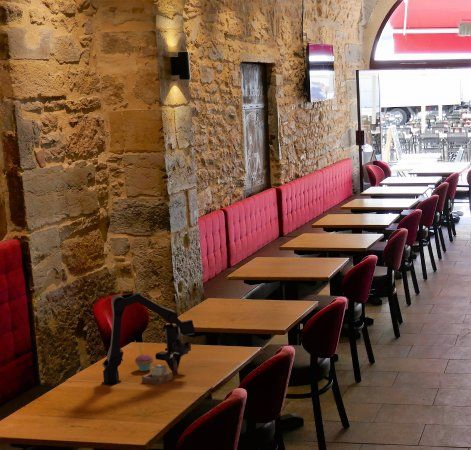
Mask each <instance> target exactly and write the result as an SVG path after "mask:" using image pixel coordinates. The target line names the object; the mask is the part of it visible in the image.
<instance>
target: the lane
mask: <svg viewBox="0 0 471 450" xmlns="http://www.w3.org/2000/svg"><path fill="white" fill-rule="evenodd" d="M173 376H174V374H172V372H170V373H168V374H167V375H165V376H162V377H160V378H158V379H156V378H152V372H151V373H148V374H146V375H143V376H141V382H142V383H144V384H149V385H153V386H159V385H162V384H163V383H167V382H169V381H171V380H173V379H174V378H173Z"/></svg>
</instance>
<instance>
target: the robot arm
mask: <svg viewBox="0 0 471 450" xmlns="http://www.w3.org/2000/svg"><path fill="white" fill-rule="evenodd" d="M137 303H138V304H139V305H141V306H143V307H145V308H147V309H148V310H150V311H152V312H154V313H155V314H157V315H158V316H160V318H161V319H163V320H164V321H165V322H166V323H167V324H166V323H165V322H163V324H162V325H161V326H160V328H161V329H162V330H165V339H164V340H163V341H164V343H166V347H165V348H164V351H162V350H161V351H158V352H156V353H155V354H154V355H155V360H158V361H165V363H166V364H167V367H169V370H170V371H171V372H172V371H173V369H174V364H173V360H177V368H178V369H179V367H180V362H181V359H182V357H183V356H185V355H188V354H189V352H190V351H192V344H191V342H190V341H186V342H182V339H181V338H180V337H179V335H181V336H183V337H184V336H191V335H195V332H196V330H195V326H194V323H193V322H194V321H193V320H192V319H188V320H180V319H179V316H178V313H176V311H175V310H173V309H171V308H168V307H165V306H162V305H159V304H157V302H154V301H152V300H151V299H149V298H148V297H146V296H144V295H142V294H141V293H139V292H138V291H135V292H132V293H127V294H126V293H125V294H121V295H120V294H115V295H113V297H111V301H110V304H111V310H112V323H111V337H110V346H109V349H108V351H107V355H106V359H105V360H104V361H103V362H102V363H101V364H102V366H103V368H104V369H103V371H102V376H103V381H102V382H101V384H104V385H107V386H114V385H116V384H118V383H121V382H122V380H121V379H120V376H119V373H120V372H119V370H118V369H119V366H121V364H122V362H123V361H124V359H123V357H124V351H123V349H122V348H121V347H120V346H121V333H122V324H123V323H122V320H123V315H124V313H125V309H126V308H127V307H129V306H131V305H133V304H134V305H135V304H137Z"/></svg>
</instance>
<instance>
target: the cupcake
mask: <svg viewBox="0 0 471 450" xmlns="http://www.w3.org/2000/svg"><path fill="white" fill-rule="evenodd" d="M139 351H140V355H138V356H137V357H135V359H134V361H135V364H136V365H137V367H138V369H139V371H141V372H147V371H149V370H150V369H151V365H152V363H153V362H154V358H153V356H151V355H150V354H143V349H142V346H141V345H139Z"/></svg>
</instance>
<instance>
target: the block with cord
mask: <svg viewBox="0 0 471 450" xmlns="http://www.w3.org/2000/svg"><path fill="white" fill-rule="evenodd" d="M173 364H174V369H173V371H171V373H172V374H173V375H177V374H179V367H178V368H177V360H173ZM168 372H169V371H168V365H164V364H163V365H162V364H157V365H154V366H152V367H151V373H152V378H156V379H158V378H160V377H162V376H165V375H167V374H169V373H168Z"/></svg>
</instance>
